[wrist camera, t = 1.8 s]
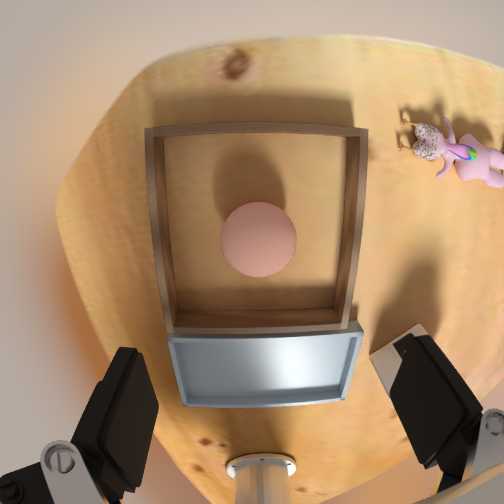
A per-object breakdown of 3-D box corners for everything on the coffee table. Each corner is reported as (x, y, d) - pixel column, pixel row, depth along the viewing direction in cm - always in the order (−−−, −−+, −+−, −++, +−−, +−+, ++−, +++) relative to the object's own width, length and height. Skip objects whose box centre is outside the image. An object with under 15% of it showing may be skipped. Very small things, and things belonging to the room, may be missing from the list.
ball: (289, 259, 27) (300, 290, 22) (224, 260, 27) (219, 291, 21) (291, 195, 25) (305, 211, 19) (222, 196, 25) (215, 211, 19)
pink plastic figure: (390, 164, 25) (495, 198, 24) (412, 169, 20) (525, 210, 19) (397, 106, 23) (502, 148, 22) (421, 97, 18) (533, 152, 16)
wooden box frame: (338, 312, 29) (346, 328, 27) (173, 315, 29) (166, 332, 26) (354, 130, 23) (368, 129, 20) (155, 129, 22) (144, 128, 20)
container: (367, 354, 32) (406, 436, 20) (419, 321, 31) (473, 391, 19) (383, 384, 34) (417, 455, 22) (429, 355, 33) (473, 419, 21)
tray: (340, 388, 34) (344, 400, 32) (185, 393, 33) (183, 406, 31) (357, 320, 30) (363, 331, 28) (171, 325, 29) (166, 337, 27)
